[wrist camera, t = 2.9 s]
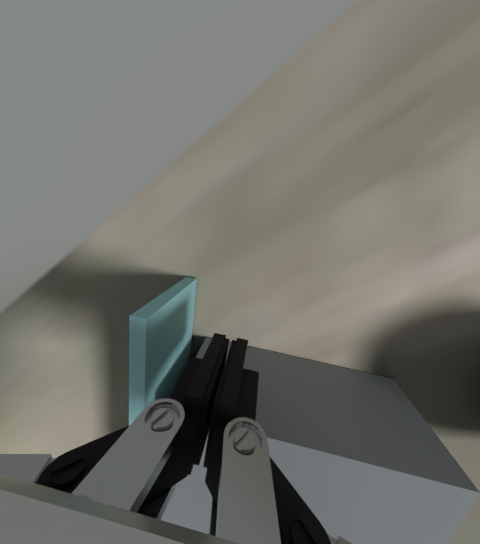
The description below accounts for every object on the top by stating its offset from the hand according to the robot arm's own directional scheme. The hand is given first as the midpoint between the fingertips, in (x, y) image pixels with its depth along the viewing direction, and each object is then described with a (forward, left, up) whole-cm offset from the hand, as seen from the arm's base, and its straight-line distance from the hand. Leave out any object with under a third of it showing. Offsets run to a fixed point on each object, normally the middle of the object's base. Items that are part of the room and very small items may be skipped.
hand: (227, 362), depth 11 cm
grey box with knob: (-13, -5, -6) cm, 15 cm away
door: (-11, +4, -6) cm, 13 cm away
